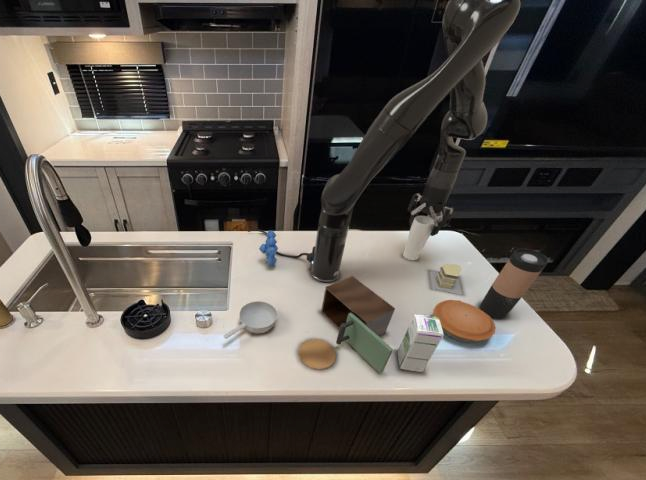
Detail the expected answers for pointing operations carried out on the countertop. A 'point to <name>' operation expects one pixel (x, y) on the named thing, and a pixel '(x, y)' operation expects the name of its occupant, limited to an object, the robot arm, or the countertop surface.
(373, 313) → the cupboard
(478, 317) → the pie
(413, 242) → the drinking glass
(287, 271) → the countertop surface
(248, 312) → the grey frying pan
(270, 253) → the grapes
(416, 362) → the syrup box
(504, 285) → the travel mug
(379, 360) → the cupboard door
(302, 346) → the cork mat
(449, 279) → the stacked layers on plate
